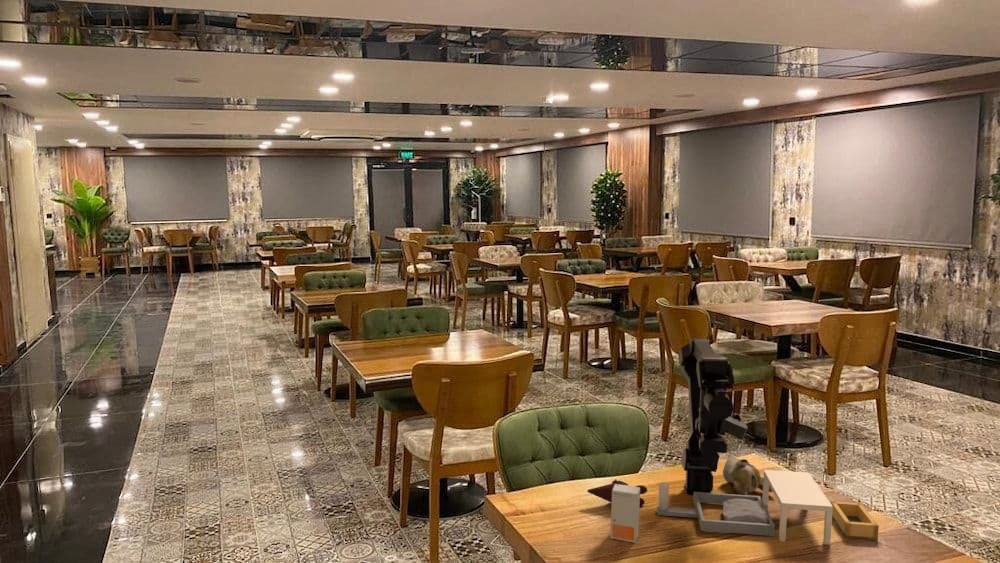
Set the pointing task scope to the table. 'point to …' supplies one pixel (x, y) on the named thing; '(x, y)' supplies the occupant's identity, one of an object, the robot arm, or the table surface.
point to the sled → (714, 524)
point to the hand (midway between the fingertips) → (709, 467)
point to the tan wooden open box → (854, 521)
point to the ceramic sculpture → (742, 476)
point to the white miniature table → (797, 497)
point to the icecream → (606, 491)
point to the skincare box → (625, 513)
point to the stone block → (744, 511)
